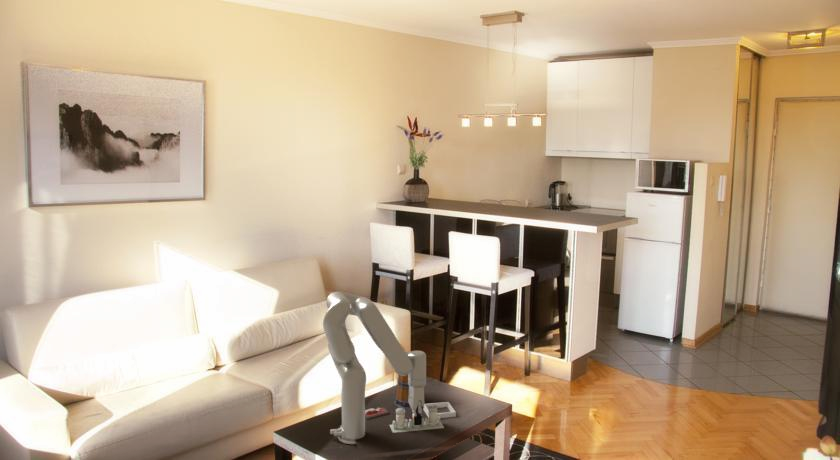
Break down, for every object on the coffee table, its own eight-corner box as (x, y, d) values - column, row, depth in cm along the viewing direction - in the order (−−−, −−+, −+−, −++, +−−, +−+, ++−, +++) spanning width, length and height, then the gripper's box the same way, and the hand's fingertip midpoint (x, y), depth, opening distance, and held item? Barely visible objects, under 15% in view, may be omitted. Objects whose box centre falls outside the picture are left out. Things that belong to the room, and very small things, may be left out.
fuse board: (392, 436, 274) (392, 425, 273) (389, 428, 282) (389, 417, 281) (444, 431, 279) (444, 421, 278) (439, 423, 287) (439, 413, 286)
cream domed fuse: (396, 430, 276) (396, 411, 275) (395, 426, 280) (395, 408, 279) (405, 429, 277) (405, 410, 276) (403, 425, 281) (403, 407, 280)
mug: (385, 395, 318) (385, 355, 315) (413, 391, 324) (413, 351, 321) (401, 410, 300) (401, 367, 298) (430, 405, 306) (430, 363, 304)
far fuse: (429, 427, 280) (429, 408, 279) (427, 423, 283) (427, 405, 282) (438, 426, 280) (438, 408, 279) (435, 422, 284) (436, 404, 283)
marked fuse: (413, 428, 278) (413, 410, 277) (411, 424, 282) (411, 406, 281) (422, 427, 279) (422, 409, 278) (420, 424, 282) (420, 405, 281)
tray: (429, 422, 288) (429, 414, 287) (422, 411, 299) (422, 404, 299) (455, 419, 291) (456, 412, 290) (448, 409, 302) (448, 401, 302)
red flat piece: (381, 410, 301) (341, 420, 290) (381, 401, 300) (341, 411, 289) (391, 417, 294) (351, 428, 283) (391, 408, 293) (351, 418, 282)
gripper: (404, 374, 285) (403, 415, 287) (412, 388, 269) (412, 431, 271) (421, 373, 286) (420, 414, 289) (430, 387, 270) (430, 430, 273)
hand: (416, 422), depth 280 cm, fingers closed on marked fuse, 3 cm apart
